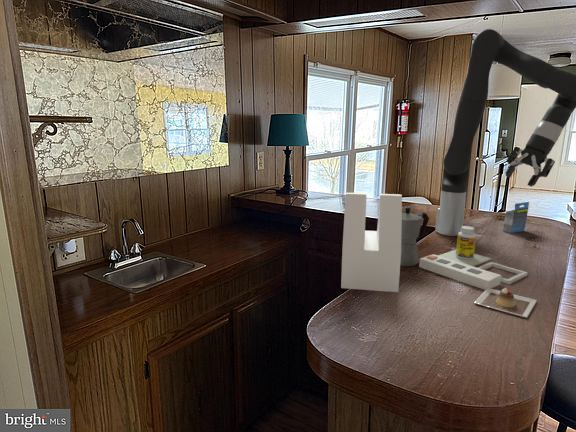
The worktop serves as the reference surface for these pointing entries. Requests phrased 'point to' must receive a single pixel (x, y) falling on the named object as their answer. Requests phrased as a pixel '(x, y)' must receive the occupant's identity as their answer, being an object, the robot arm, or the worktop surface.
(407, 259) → the coffeepot
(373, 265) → the white slotted block
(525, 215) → the label tape box
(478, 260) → the mat
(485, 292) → the dessert
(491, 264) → the white square frame
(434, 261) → the power strip
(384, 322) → the worktop surface
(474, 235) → the supplement bottle
